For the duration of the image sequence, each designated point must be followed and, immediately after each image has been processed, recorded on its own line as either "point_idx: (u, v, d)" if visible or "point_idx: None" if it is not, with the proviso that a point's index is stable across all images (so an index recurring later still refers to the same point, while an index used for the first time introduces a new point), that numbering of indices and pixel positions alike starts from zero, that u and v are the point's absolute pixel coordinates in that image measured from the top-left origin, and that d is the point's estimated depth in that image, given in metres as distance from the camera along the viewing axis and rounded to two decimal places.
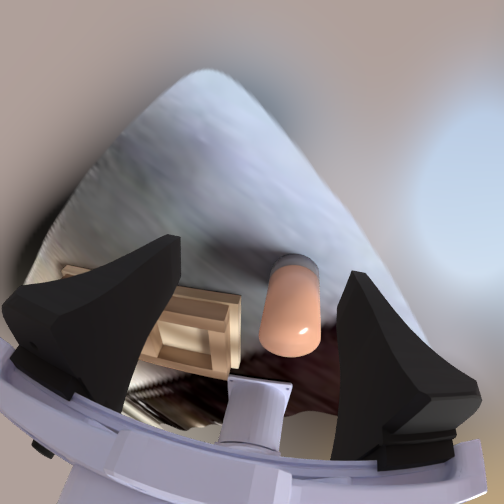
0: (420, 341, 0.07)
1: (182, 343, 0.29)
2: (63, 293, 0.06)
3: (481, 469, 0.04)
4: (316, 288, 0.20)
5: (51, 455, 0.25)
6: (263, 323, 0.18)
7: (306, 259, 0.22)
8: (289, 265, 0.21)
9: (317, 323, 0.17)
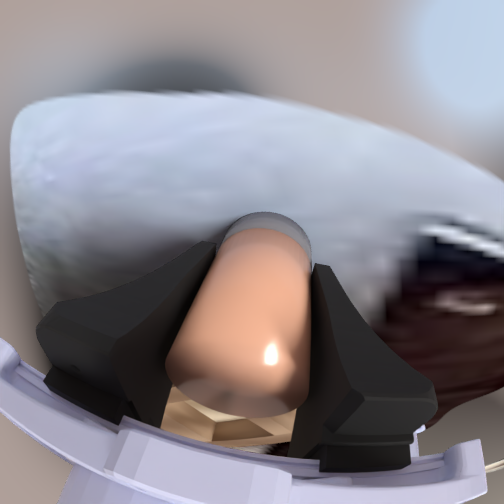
0: (374, 336, 0.07)
1: None
2: (109, 310, 0.06)
3: (481, 469, 0.04)
4: (271, 252, 0.09)
5: None
6: None
7: (253, 216, 0.12)
8: (221, 244, 0.11)
9: (257, 331, 0.06)
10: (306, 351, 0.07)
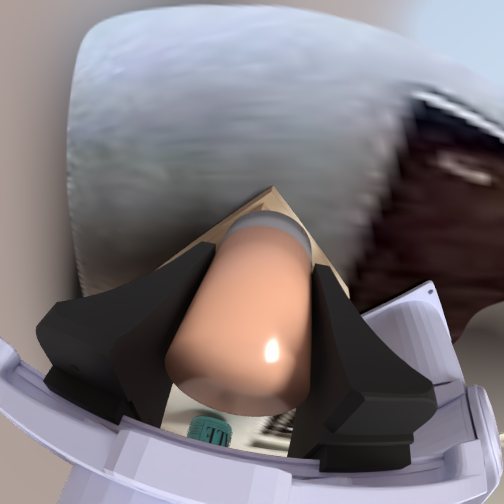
0: (374, 336, 0.07)
1: None
2: (110, 310, 0.06)
3: (481, 469, 0.04)
4: (272, 250, 0.09)
5: None
6: None
7: (254, 215, 0.12)
8: (222, 242, 0.11)
9: (259, 328, 0.06)
10: (307, 349, 0.07)
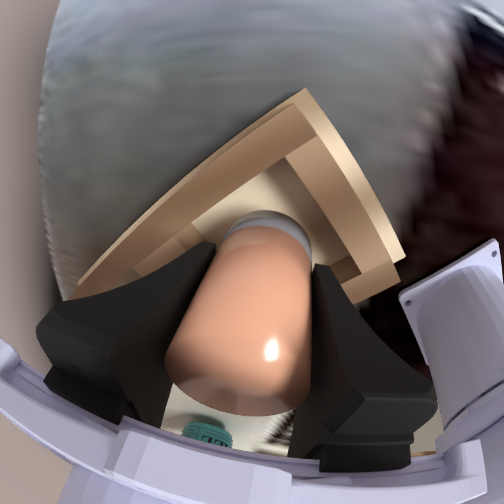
0: (374, 336, 0.07)
1: None
2: (110, 310, 0.06)
3: (481, 469, 0.04)
4: (273, 249, 0.09)
5: None
6: None
7: (254, 214, 0.12)
8: (222, 241, 0.11)
9: (260, 326, 0.06)
10: (308, 348, 0.07)
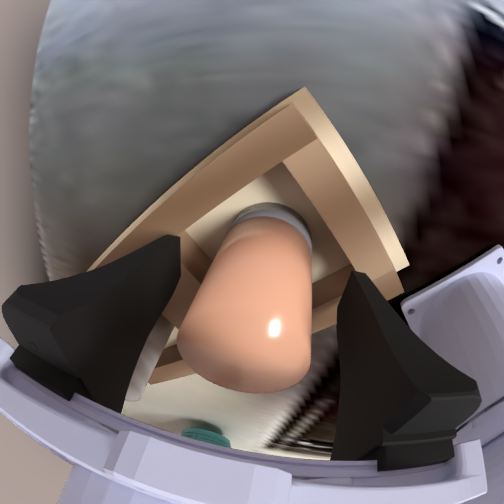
0: (420, 341, 0.07)
1: None
2: (63, 293, 0.06)
3: (480, 469, 0.04)
4: (276, 237, 0.10)
5: None
6: None
7: (258, 206, 0.13)
8: (229, 231, 0.12)
9: (265, 303, 0.07)
10: (308, 326, 0.08)
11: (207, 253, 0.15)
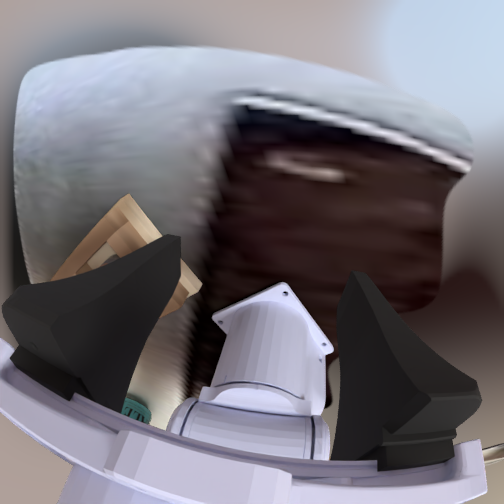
0: (420, 341, 0.07)
1: None
2: (63, 293, 0.06)
3: (481, 469, 0.04)
4: None
5: None
6: None
7: (112, 256, 0.23)
8: None
9: None
10: None
11: None
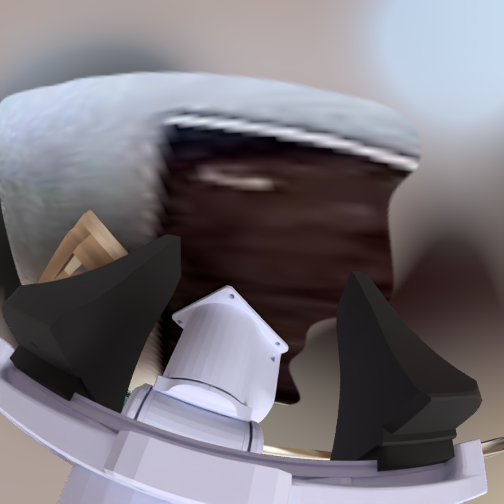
0: (420, 341, 0.07)
1: None
2: (63, 293, 0.06)
3: (481, 469, 0.04)
4: None
5: None
6: None
7: (82, 265, 0.24)
8: None
9: None
10: None
11: None
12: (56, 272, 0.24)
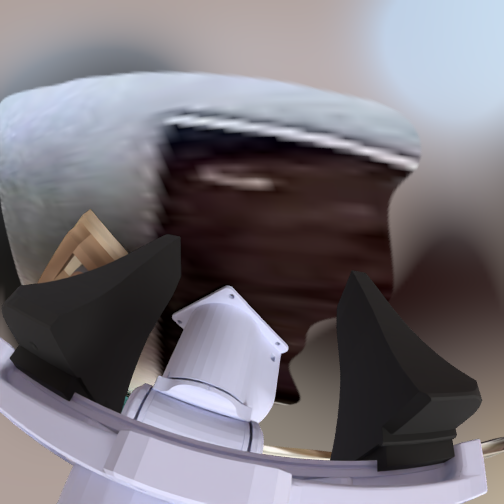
0: (420, 341, 0.07)
1: None
2: (63, 293, 0.06)
3: (481, 469, 0.04)
4: None
5: None
6: None
7: (82, 265, 0.24)
8: None
9: None
10: None
11: None
12: (56, 272, 0.24)
